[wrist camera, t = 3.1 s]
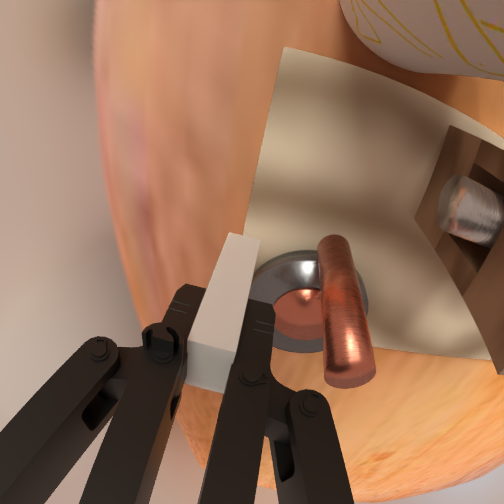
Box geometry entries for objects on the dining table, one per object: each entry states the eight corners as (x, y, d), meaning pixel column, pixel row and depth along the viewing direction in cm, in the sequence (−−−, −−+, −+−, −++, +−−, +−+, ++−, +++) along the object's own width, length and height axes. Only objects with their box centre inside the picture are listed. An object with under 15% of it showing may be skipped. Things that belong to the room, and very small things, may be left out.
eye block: (284, 48, 13) (257, -30, 3) (590, 214, 13) (661, 294, 3) (228, 307, 23) (187, 457, 13) (502, 354, 23) (533, 444, 13)
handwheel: (266, 206, 16) (238, 336, 9) (397, 241, 16) (451, 369, 9) (237, 327, 22) (210, 441, 14) (338, 348, 22) (343, 459, 14)
